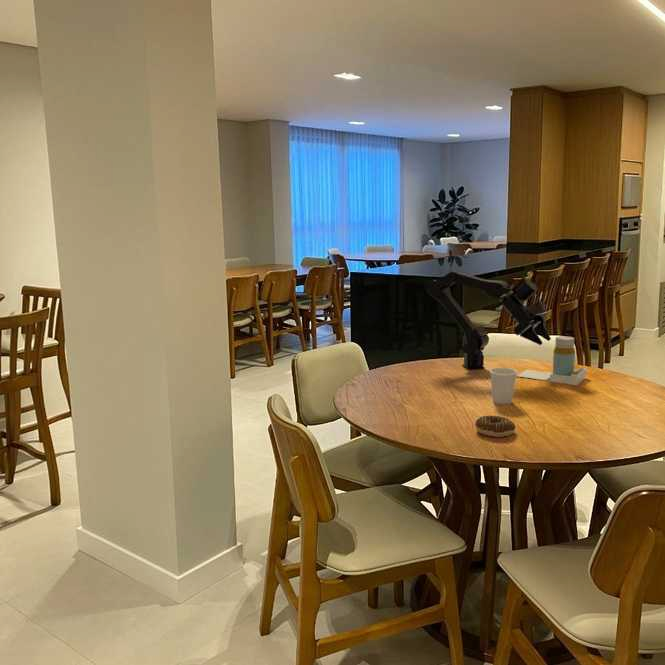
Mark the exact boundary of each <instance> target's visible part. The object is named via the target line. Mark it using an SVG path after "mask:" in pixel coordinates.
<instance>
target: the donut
mask: <svg viewBox="0 0 665 665" xmlns="http://www.w3.org/2000/svg"><path fill="white" fill-rule="evenodd" d="M474 425H475V429H476V430H477V432H478V433H480V434H482V435H483V434H484V435H483V436H486V435H487V436H486V437H491V436H493V437H492V438H505V437H504V436H506V437H509V436H510V435H512V434H513V433H514V432H515V429H516V425H515V423H514V422H513V421H512V420H510V419H509V418H507V417H504V416H500V415H483V416H480V417H478V418H477V419H476V420H475V424H474Z"/></svg>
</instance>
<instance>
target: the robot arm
mask: <svg viewBox="0 0 665 665" xmlns="http://www.w3.org/2000/svg"><path fill="white" fill-rule="evenodd" d="M455 283H456V284H459V285H463V286H466V287H469V288H473V289H475V290H479V291H482V292H483V293H485V295H488V296H489V297H491V298H494V299H499V300H497V301H496V302H497V303H496V304H497V305H496V308H497V309H501V308H504V309H505V310H506V311H507V312H508V313H509V315H510V316H511V317H510V318H511V320H515V321H516V322H517V325H516V326H515V327H514V328H513V333H514V334H515V335H516V336H519V337H520V338H524V339H525V340H529V341H530V342H533V343H535V344H537V345H540V346H541V345H543V341H542V339H545V340H546V341H551V339H552V338H551V336H550V334H549V332H548V330H547V327H546V321H547V316H545V314H543V313H544V312H547V311H548V310H547V304H546V303H545V302H542V300H539V301H537V302H535V304H534V306H533V305H532V306H529V305H525V304H524V303H522V301H523V302H525V301H528V300H529V299H530V298H531V297H532V296H533V295H535V293H536V292H537V291H538V290H539V289H538V287H537V285H536V284H535V282H532V281H531V280H530V279H527V278H526V277H525V276H523V277H522V278H520V280H519V281H518V282H517V283H516V284H515V285H512V284H508V282H506V281H503V280H496V279H495V280H494V279H493V280H492V279H491V280H490V279H485V278H480V277H477V276H473V275H471V274H467V273H463V272H460V271H458V270H451V271H450V272H448V273H446V274H445V275H443V276H441V277H440V278H437V279H434V280H431V281H429V282H428V283H427V285H426V291H427V293H428V294H429V295H430V296H431V297H432V298H433V299H435V300H436V301H438V302H440V303H441V304H442V305H443V307H444V308H445V309H446V311H447V312H448V313H449V314H450V316H451V317H452V318H453V320H454V321H455V322H456V323H457V326H459V327H460V329H461V331H463V333H464V334H463V335H464V338H465V341H466V343H465V344H464V345H463V346H462V347H461V350H462V353H463V354H464V355H463V356H464V357H463V364H461V365H462V367H464V368H466V369H467V370H474V369H475V370H478V369H479V368H480V369H484V368H485V366H484V363H485V362H484V361H485V359H484V358H485V356H484V353H483V351H484V350H485V347H487V345H488V344H489V342H490V338H489V335H488V334H489V332H487V331H486V330H485V329H484V327H483V326H482V325H479V326H477V325H475V324H474V323H473V322H472V320H471V319H470V318H469V317H468V314H466V312H464V310H463V309H462V308H461V306H460V305H459V303H458V302H457V301H456V299H454V297H453V295H452V293H451V288H450V287H451V286H452V285H454V284H455ZM510 293H511V294H510ZM508 294H510V295H508ZM500 298H502V299H500ZM540 337H541V338H542V339H541V338H540Z"/></svg>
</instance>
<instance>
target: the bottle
mask: <svg viewBox="0 0 665 665" xmlns="http://www.w3.org/2000/svg"><path fill="white" fill-rule="evenodd" d="M554 346H555V347H554V349H553V355H552V356H553V357H552V358H553V360H552V362H553V363H552V373H553V374H556V375H564V376H571V374H573V373H574V370H575V360H576V359H575V357H576V350H575V338H574V337H572V336H565V335H561V336H559V335H558V336H556V337H555V345H554Z"/></svg>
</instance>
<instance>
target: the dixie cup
mask: <svg viewBox="0 0 665 665" xmlns="http://www.w3.org/2000/svg"><path fill="white" fill-rule="evenodd" d="M489 373H490V382H491V394H492V401H493V403H494V404H497V405H511V404H512V401H513V396H514V390H515V384H516V383H515V382H516V380H517V379H516V378H517V377H516V376H517V375H518V371H517V370H516V369H513V368H510V367H509V368H508V367H494V368H491V369H489Z"/></svg>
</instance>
